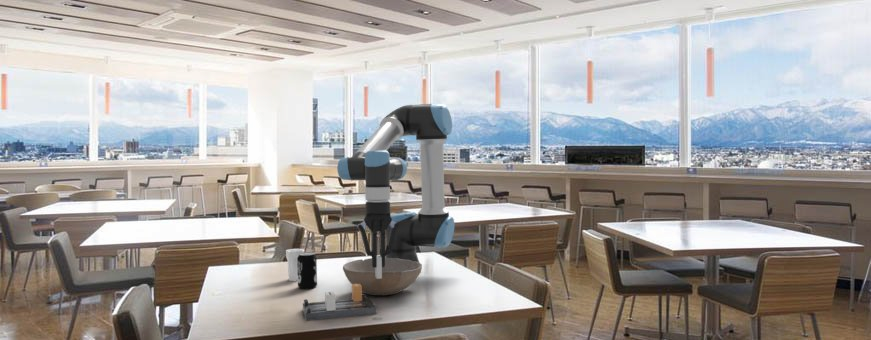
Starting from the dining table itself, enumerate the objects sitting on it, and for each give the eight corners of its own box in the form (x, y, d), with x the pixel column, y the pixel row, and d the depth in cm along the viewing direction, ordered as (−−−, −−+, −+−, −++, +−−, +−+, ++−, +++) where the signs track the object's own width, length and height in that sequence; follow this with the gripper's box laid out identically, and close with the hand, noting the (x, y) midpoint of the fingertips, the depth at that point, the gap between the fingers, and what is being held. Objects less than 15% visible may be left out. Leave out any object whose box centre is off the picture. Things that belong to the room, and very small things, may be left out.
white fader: (333, 307, 173) (333, 291, 173) (335, 310, 170) (335, 294, 170) (325, 307, 172) (324, 292, 172) (326, 311, 169) (326, 294, 169)
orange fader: (359, 298, 184) (359, 283, 183) (362, 300, 180) (361, 285, 180) (351, 298, 183) (351, 283, 183) (353, 301, 179) (353, 286, 179)
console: (368, 304, 185) (368, 293, 184) (376, 314, 173) (376, 303, 173) (302, 309, 179) (302, 299, 179) (306, 320, 167) (306, 309, 167)
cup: (291, 282, 217) (291, 252, 217) (283, 279, 222) (282, 250, 222) (308, 279, 222) (307, 250, 221) (299, 276, 227) (298, 248, 226)
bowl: (402, 281, 216) (402, 254, 216) (436, 297, 192) (435, 266, 192) (332, 290, 204) (332, 261, 204) (359, 307, 180) (358, 275, 180)
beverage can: (312, 289, 205) (311, 255, 204) (294, 289, 206) (293, 254, 206) (320, 285, 211) (319, 251, 211) (302, 285, 212) (301, 251, 212)
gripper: (395, 199, 188) (396, 274, 188) (354, 200, 184) (355, 276, 185) (401, 201, 181) (402, 278, 181) (358, 202, 177) (359, 281, 177)
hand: (378, 277), depth 183 cm, fingers closed
